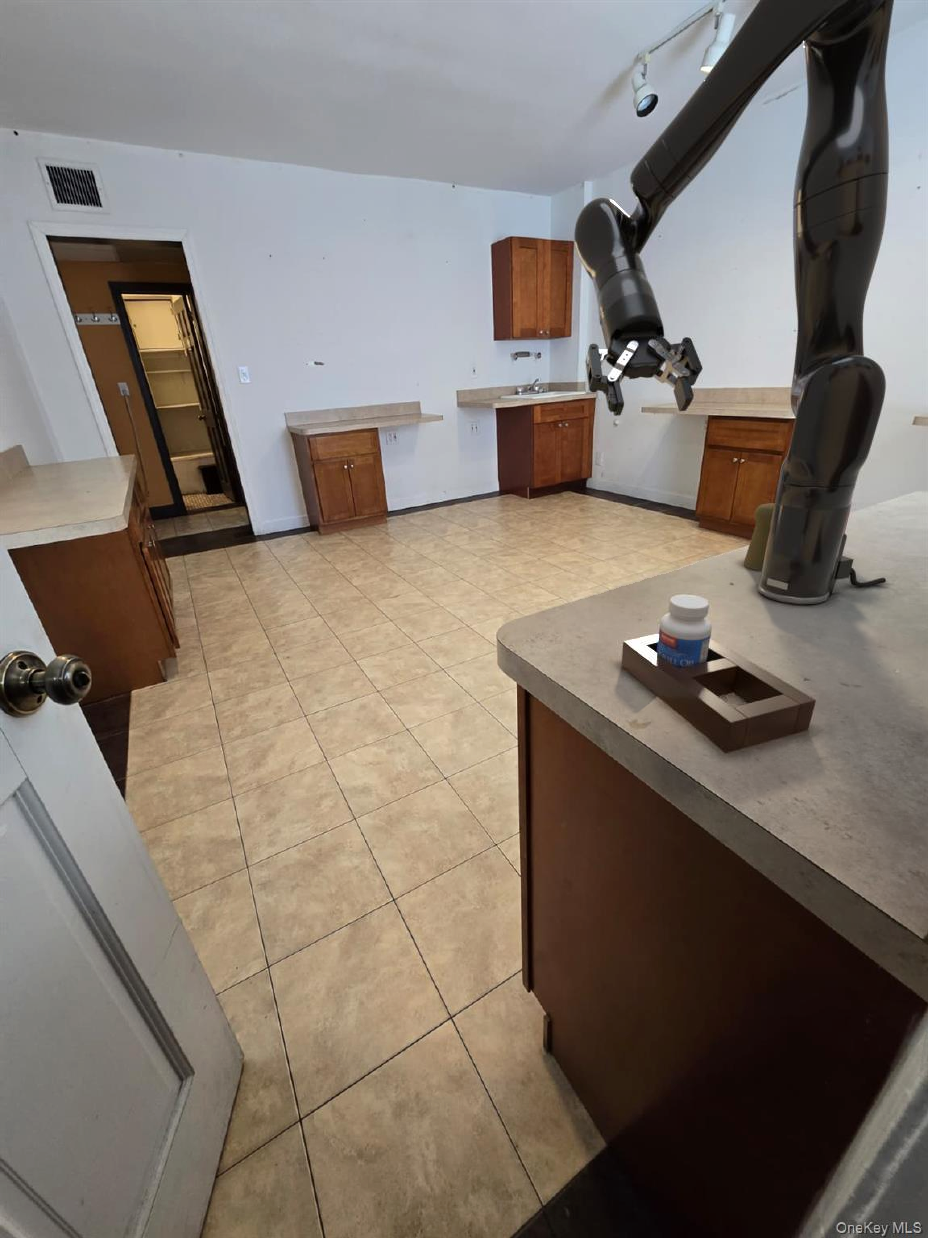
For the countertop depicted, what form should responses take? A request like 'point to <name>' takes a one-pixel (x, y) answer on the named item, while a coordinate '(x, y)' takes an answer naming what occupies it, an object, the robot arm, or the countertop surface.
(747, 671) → the socket block
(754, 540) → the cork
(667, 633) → the pill bottle
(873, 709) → the countertop surface
